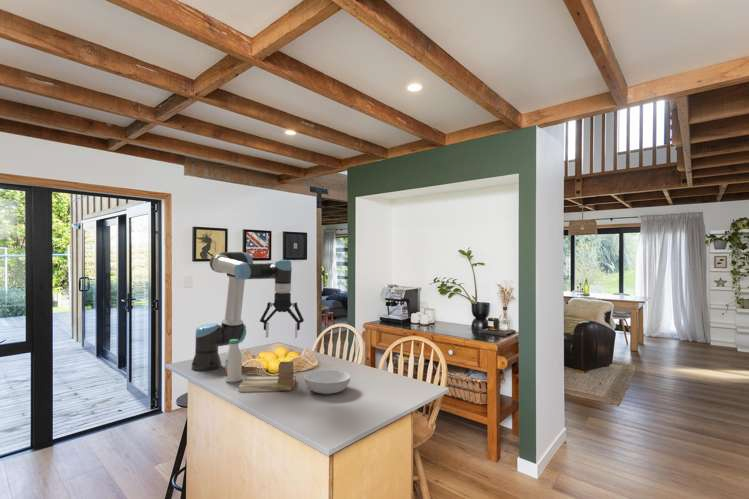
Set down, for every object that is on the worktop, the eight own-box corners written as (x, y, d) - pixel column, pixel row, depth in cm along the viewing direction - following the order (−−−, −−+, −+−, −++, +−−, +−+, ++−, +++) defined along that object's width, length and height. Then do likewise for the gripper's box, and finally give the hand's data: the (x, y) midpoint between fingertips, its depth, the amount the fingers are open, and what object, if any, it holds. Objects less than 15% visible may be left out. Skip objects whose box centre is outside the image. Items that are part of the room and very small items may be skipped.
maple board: (246, 382, 189) (246, 376, 189) (295, 381, 191) (295, 376, 192) (238, 391, 175) (238, 386, 175) (292, 390, 178) (292, 385, 178)
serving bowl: (343, 400, 166) (343, 384, 166) (297, 396, 170) (297, 381, 170) (355, 385, 186) (355, 371, 186) (313, 382, 190) (314, 368, 190)
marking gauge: (280, 384, 184) (280, 361, 184) (293, 384, 184) (293, 361, 185) (277, 390, 176) (277, 366, 176) (290, 389, 176) (291, 366, 177)
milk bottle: (244, 378, 195) (244, 338, 196) (237, 383, 187) (237, 341, 188) (229, 377, 196) (230, 338, 196) (221, 382, 188) (222, 341, 189)
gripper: (254, 292, 179) (253, 338, 179) (308, 293, 182) (307, 338, 181) (257, 291, 187) (256, 335, 187) (309, 291, 189) (308, 335, 189)
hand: (281, 337), depth 184 cm, fingers open, 13 cm apart
